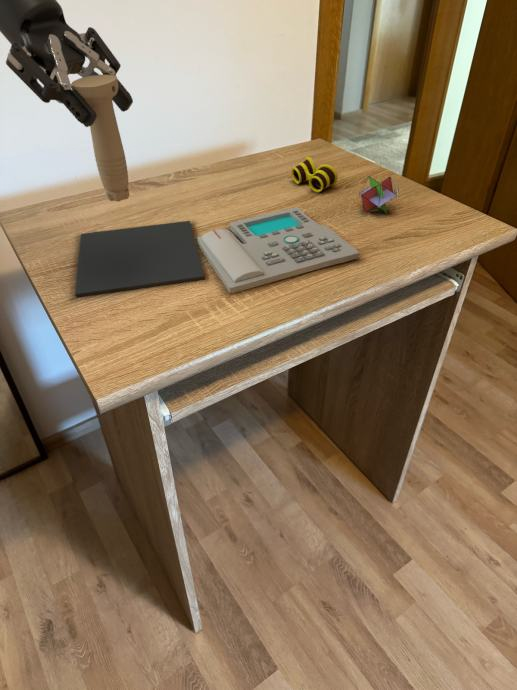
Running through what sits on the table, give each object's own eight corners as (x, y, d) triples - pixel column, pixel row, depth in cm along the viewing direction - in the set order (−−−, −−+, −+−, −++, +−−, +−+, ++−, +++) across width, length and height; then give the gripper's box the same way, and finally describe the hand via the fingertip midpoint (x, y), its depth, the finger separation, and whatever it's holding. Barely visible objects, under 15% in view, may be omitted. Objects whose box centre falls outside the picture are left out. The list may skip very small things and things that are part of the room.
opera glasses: (290, 184, 108) (287, 163, 104) (307, 174, 109) (305, 152, 106) (321, 198, 102) (319, 176, 98) (339, 187, 103) (337, 165, 100)
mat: (75, 297, 75) (74, 294, 74) (81, 236, 89) (80, 233, 89) (204, 279, 78) (204, 276, 77) (190, 223, 93) (189, 220, 92)
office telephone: (229, 281, 73) (187, 225, 87) (230, 295, 74) (189, 238, 88) (361, 245, 80) (302, 198, 93) (359, 259, 81) (301, 211, 95)
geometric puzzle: (363, 212, 90) (390, 173, 87) (343, 198, 95) (369, 161, 92) (385, 227, 94) (412, 191, 92) (365, 213, 99) (390, 178, 96)
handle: (143, 190, 71) (124, 75, 61) (123, 209, 66) (99, 87, 57) (113, 187, 72) (90, 73, 62) (92, 205, 67) (62, 85, 58)
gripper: (46, 14, 65) (133, 118, 69) (-47, 30, 55) (60, 150, 59) (65, -36, 60) (158, 80, 63) (-34, -27, 50) (82, 108, 54)
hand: (110, 113), depth 61 cm, fingers closed on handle, 6 cm apart
